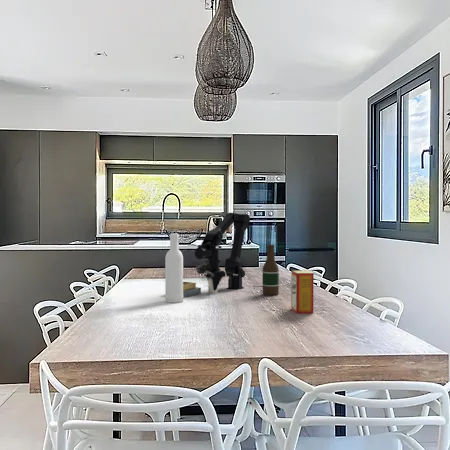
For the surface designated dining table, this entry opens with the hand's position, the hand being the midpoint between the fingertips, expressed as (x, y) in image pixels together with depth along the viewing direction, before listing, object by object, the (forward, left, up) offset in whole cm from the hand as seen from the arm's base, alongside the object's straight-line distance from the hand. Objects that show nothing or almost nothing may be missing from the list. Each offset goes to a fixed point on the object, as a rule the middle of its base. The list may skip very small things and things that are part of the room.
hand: (212, 289), depth 238 cm
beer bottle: (-26, -11, -2) cm, 28 cm away
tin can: (0, 0, -2) cm, 2 cm away
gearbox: (+10, +12, -2) cm, 16 cm away
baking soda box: (-55, +18, -2) cm, 58 cm away
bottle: (+1, +29, -2) cm, 29 cm away
